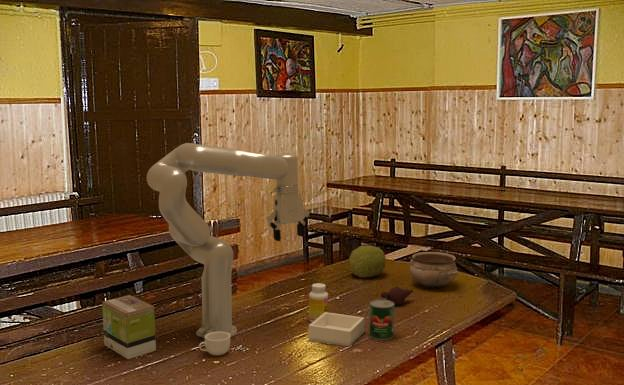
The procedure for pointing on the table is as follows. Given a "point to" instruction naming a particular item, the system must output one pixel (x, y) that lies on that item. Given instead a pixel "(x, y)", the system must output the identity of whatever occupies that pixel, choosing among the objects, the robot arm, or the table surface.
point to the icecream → (396, 295)
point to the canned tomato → (381, 319)
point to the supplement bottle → (317, 301)
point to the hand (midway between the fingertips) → (289, 238)
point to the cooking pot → (433, 269)
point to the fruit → (367, 261)
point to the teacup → (216, 343)
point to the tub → (336, 329)
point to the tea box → (129, 326)
